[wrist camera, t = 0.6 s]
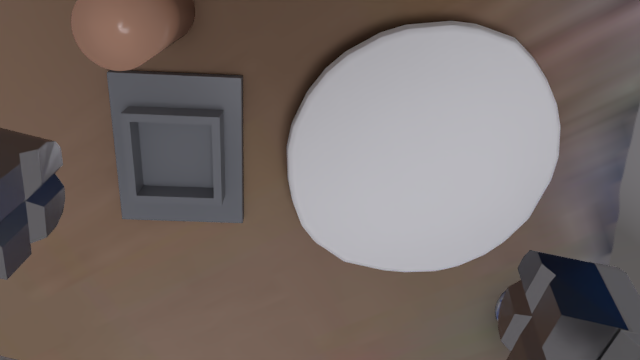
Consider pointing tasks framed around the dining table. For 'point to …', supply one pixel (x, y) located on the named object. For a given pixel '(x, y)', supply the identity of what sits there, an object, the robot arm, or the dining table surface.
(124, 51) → the salmon pink cylinder
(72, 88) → the dining table surface
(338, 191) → the plate
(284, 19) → the dining table surface
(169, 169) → the grey square tray
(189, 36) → the dining table surface
